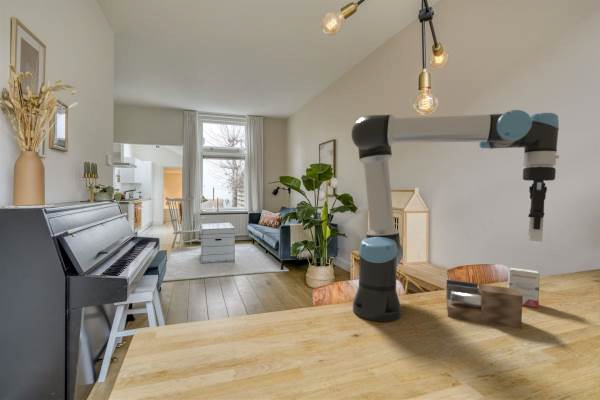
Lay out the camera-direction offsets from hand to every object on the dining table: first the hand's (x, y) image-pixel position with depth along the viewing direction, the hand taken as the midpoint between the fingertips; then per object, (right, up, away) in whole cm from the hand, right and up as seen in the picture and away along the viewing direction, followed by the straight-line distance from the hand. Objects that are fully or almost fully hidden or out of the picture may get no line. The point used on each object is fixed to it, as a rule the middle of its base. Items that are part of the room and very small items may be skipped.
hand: (534, 238), depth 88 cm
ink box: (+9, -26, +17) cm, 32 cm away
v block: (-12, -25, +18) cm, 33 cm away
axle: (-13, -22, +3) cm, 26 cm away
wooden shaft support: (-14, -25, +4) cm, 29 cm away
